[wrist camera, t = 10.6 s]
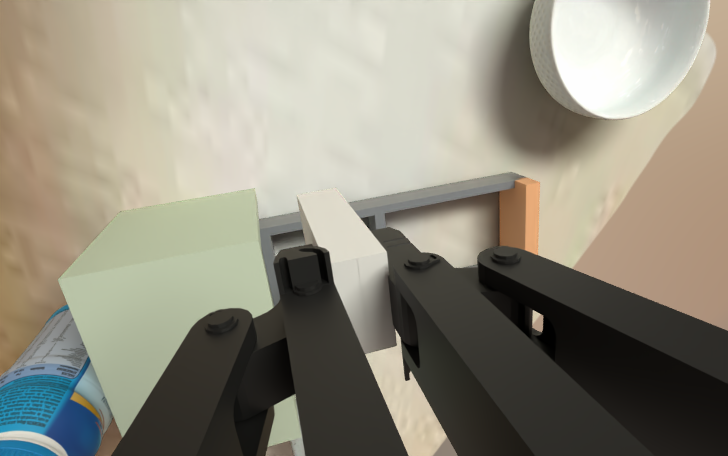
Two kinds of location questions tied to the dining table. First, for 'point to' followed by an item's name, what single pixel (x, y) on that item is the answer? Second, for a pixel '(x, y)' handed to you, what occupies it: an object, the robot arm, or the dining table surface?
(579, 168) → the dining table surface
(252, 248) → the toy stool
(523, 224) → the drawer
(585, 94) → the cereal bowl
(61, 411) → the beverage bottle
